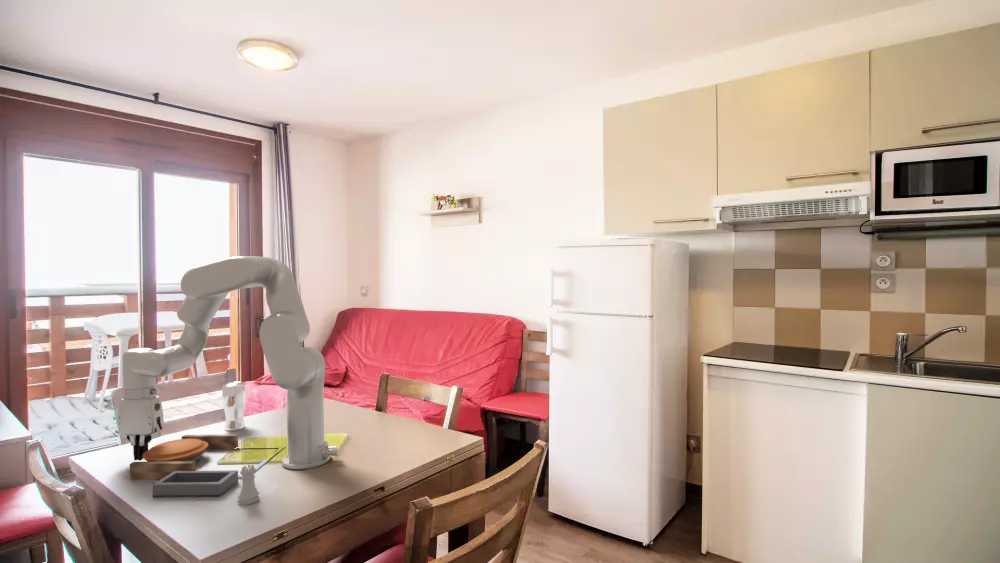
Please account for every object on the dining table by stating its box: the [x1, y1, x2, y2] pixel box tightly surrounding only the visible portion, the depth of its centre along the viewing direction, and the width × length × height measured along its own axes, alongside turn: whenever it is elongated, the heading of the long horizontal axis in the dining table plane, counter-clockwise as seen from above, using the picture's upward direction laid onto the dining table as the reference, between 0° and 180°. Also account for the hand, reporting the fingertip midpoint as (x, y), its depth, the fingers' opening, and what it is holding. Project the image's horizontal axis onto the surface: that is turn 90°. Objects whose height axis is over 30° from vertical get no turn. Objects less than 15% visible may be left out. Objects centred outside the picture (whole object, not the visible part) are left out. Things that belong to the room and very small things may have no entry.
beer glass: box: [221, 381, 247, 432], centre depth 170 cm, size 7×7×15 cm
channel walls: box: [129, 433, 239, 480], centre depth 140 cm, size 16×22×4 cm
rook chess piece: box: [237, 464, 260, 506], centre depth 116 cm, size 4×4×8 cm
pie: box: [142, 438, 209, 463], centre depth 141 cm, size 16×16×5 cm
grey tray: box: [151, 469, 239, 498], centre depth 123 cm, size 16×8×3 cm, turn 90°
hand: (141, 458), depth 141 cm, fingers closed
